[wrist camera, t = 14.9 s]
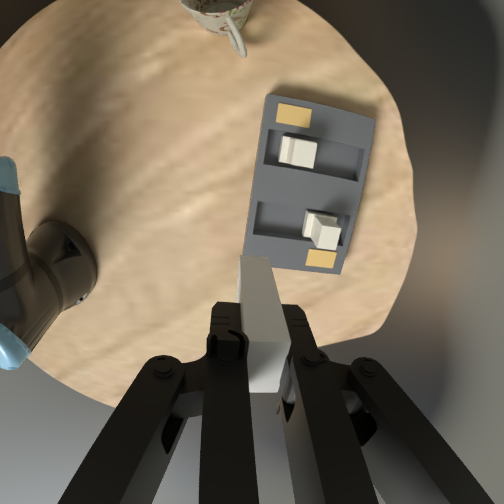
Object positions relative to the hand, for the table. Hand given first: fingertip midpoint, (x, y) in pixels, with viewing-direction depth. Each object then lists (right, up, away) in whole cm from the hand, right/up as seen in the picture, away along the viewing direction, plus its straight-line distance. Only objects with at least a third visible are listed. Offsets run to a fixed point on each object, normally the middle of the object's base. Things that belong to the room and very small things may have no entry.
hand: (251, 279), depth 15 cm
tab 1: (+5, +14, +18) cm, 23 cm away
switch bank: (+7, +10, +21) cm, 25 cm away
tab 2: (+9, +5, +22) cm, 24 cm away
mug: (-3, +31, +12) cm, 33 cm away
